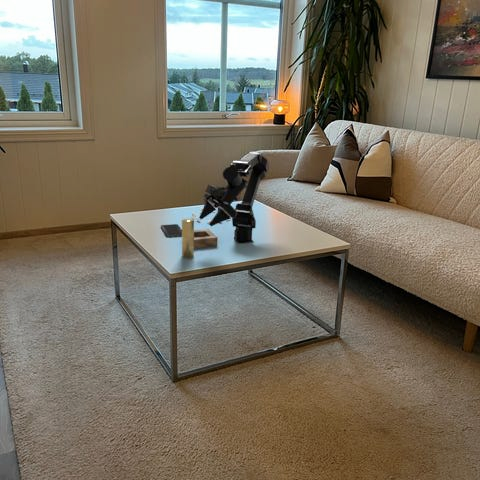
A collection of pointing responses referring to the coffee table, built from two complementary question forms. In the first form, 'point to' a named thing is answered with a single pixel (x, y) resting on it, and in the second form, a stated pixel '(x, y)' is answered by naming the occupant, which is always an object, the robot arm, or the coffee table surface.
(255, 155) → the robot arm
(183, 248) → the peg
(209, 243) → the socket block
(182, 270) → the coffee table surface
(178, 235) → the phone
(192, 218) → the game piece set
